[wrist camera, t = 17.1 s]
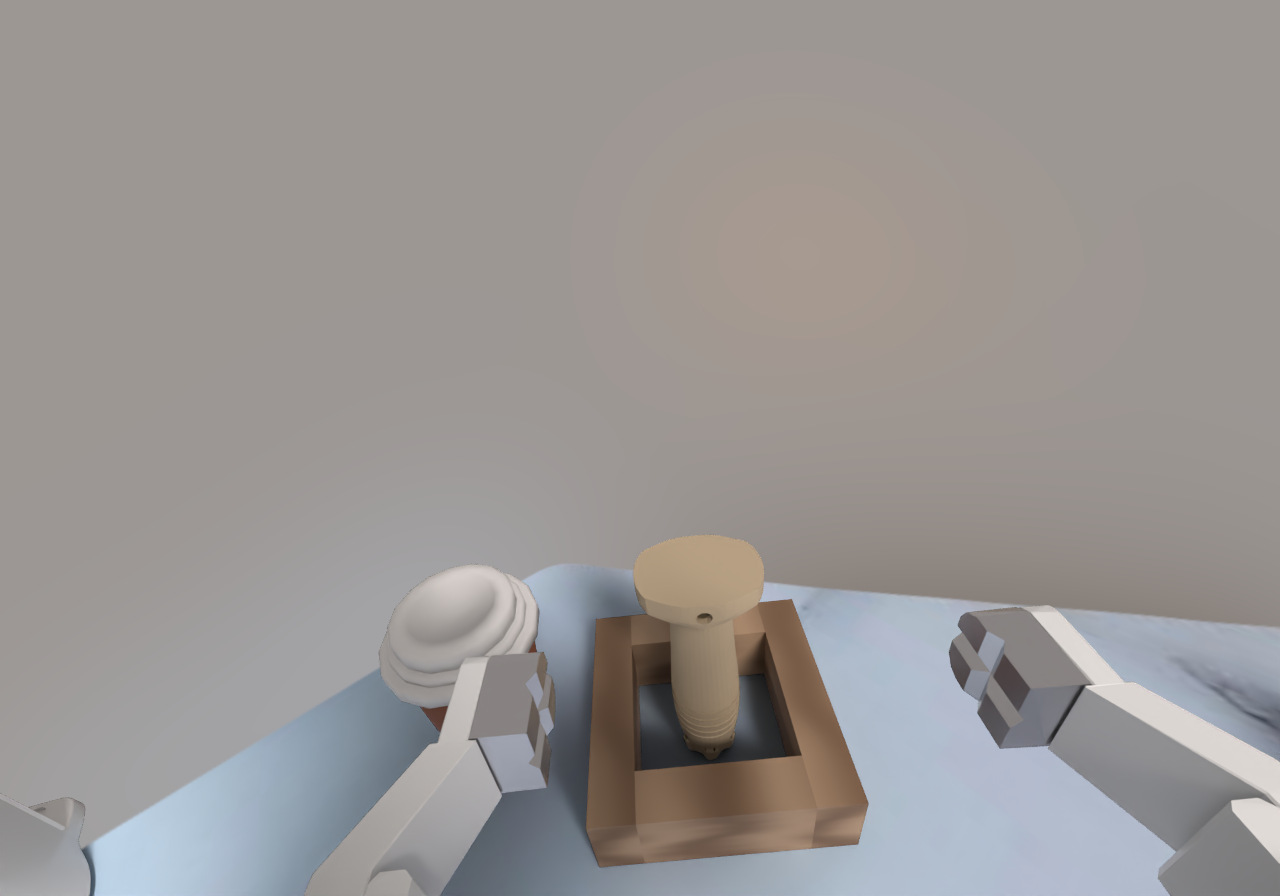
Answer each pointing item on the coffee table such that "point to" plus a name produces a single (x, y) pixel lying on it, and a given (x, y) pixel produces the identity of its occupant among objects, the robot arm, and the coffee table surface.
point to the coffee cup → (454, 632)
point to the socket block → (724, 792)
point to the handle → (702, 627)
